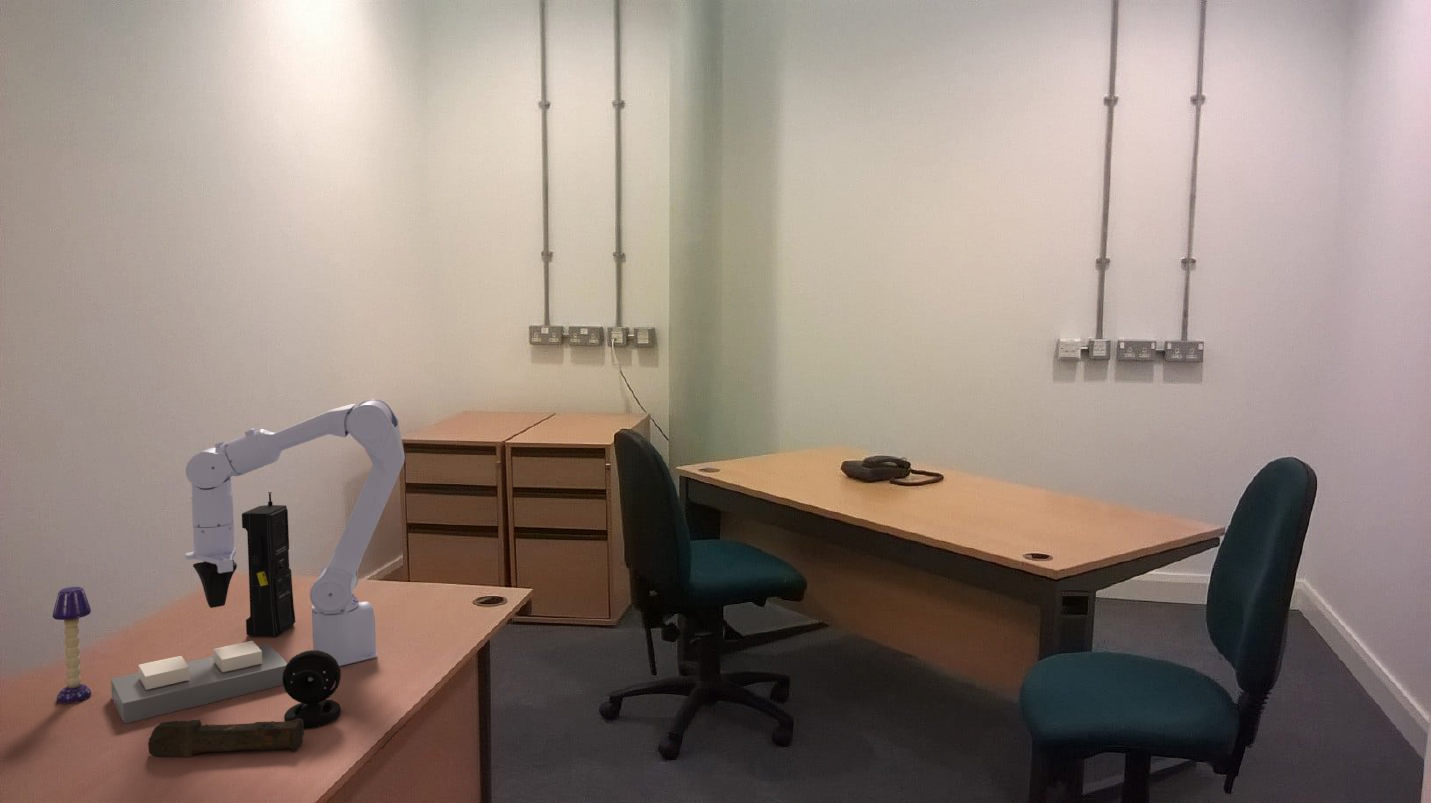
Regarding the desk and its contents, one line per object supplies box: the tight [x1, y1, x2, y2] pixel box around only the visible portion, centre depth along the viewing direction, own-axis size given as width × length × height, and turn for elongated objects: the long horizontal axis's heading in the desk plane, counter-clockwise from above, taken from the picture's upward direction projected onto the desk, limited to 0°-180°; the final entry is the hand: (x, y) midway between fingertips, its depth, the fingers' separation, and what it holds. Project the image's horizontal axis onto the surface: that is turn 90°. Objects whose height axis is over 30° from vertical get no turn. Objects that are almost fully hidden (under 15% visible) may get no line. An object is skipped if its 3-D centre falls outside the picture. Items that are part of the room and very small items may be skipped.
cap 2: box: [212, 640, 262, 672], centre depth 141 cm, size 6×6×5 cm
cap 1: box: [138, 655, 190, 690], centre depth 134 cm, size 6×6×5 cm
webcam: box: [282, 649, 342, 730], centre depth 129 cm, size 8×8×10 cm
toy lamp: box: [52, 586, 92, 704], centre depth 134 cm, size 5×5×17 cm
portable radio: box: [241, 491, 297, 638], centre depth 161 cm, size 8×6×25 cm
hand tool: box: [147, 718, 305, 758], centre depth 120 cm, size 19×4×5 cm, turn 97°
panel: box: [110, 644, 288, 725], centre depth 138 cm, size 22×11×3 cm, turn 131°
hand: (216, 605), depth 145 cm, fingers closed
